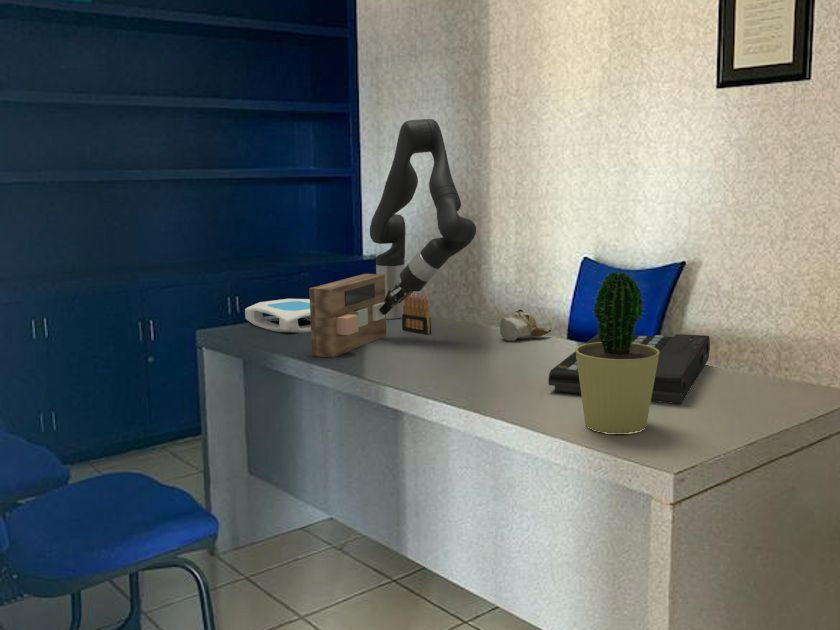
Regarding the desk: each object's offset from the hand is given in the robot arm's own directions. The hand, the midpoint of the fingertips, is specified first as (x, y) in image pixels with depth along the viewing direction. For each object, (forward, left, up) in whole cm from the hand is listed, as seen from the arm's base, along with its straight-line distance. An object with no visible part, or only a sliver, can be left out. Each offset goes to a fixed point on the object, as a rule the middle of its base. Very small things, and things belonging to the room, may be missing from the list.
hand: (382, 312), depth 245 cm
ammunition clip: (-13, -2, -8) cm, 16 cm away
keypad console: (+11, +2, -8) cm, 13 cm away
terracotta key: (+18, +9, -2) cm, 20 cm away
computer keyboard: (-24, +72, -9) cm, 77 cm away
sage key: (+10, +2, -2) cm, 11 cm away
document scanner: (+9, -38, -8) cm, 40 cm away
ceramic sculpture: (-31, +24, -8) cm, 40 cm away
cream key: (+2, -3, -2) cm, 4 cm away
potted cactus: (+9, +97, -8) cm, 97 cm away
